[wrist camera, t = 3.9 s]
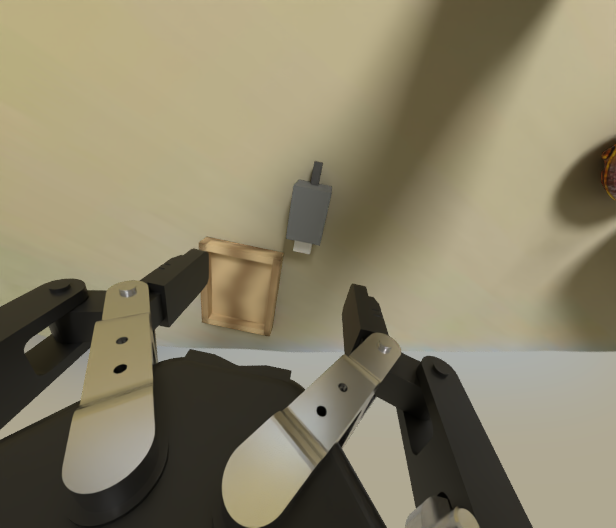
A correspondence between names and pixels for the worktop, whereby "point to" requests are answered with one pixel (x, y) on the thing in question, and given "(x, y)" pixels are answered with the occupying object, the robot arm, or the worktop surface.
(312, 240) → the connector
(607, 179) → the brown patterned rounded piece
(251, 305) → the tray
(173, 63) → the worktop surface
